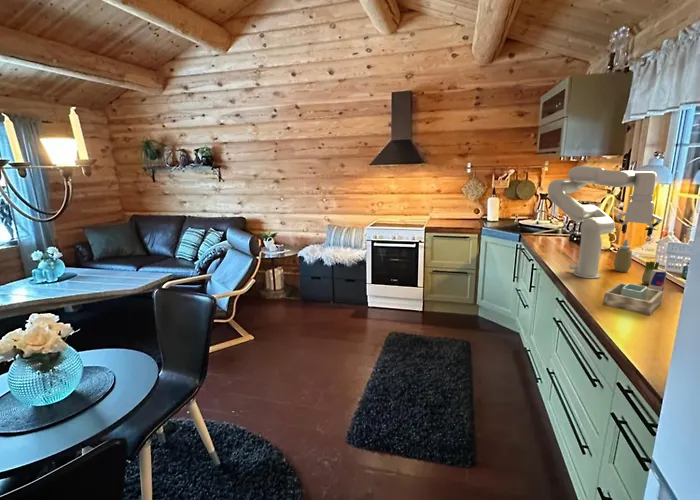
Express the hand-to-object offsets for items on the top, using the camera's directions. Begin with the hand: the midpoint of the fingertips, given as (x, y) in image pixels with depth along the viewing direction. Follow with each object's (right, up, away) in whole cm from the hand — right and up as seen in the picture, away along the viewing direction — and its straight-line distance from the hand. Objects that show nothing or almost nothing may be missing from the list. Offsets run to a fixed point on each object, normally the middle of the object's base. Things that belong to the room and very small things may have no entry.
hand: (636, 234), depth 182 cm
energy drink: (+3, -29, -7) cm, 30 cm away
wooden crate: (-14, -31, -16) cm, 38 cm away
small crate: (-14, -30, -17) cm, 37 cm away
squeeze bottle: (+16, -19, +33) cm, 41 cm away
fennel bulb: (+13, -25, +9) cm, 30 cm away
